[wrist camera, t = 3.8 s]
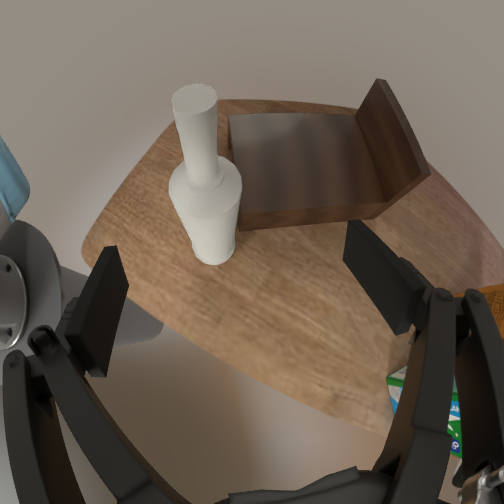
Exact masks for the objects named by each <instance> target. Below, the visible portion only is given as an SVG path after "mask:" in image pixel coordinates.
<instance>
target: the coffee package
mask: <svg viewBox="0 0 504 504" xmlns="http://www.w3.org/2000/svg"><path fill="white" fill-rule="evenodd" d="M477 290H478V291H480V292H481V293H482V294H483V295H484V296H485V298H486V300H487V302H488V305H489V307H490V309H491V312H492V314H493V316H494V319H495V321H496V324H497V326H498V329H499V332H500V334H501V337H502V340H503V342H504V284H500V285H494V286H488V287H484V288H480V289H477ZM464 294H465V293H461V294H455V295H453V296H454V297H464ZM470 334H471V332H470Z"/></svg>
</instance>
